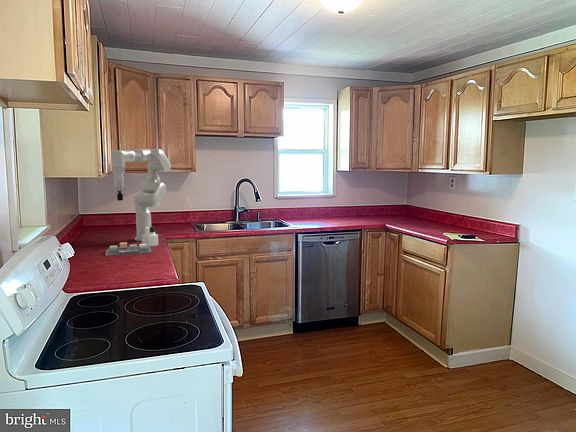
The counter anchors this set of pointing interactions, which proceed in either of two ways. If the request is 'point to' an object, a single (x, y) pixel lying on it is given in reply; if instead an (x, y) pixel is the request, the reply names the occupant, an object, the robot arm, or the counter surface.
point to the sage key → (113, 247)
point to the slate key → (133, 246)
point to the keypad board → (127, 251)
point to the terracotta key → (123, 245)
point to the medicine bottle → (150, 237)
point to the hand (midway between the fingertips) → (120, 200)
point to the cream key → (142, 245)
